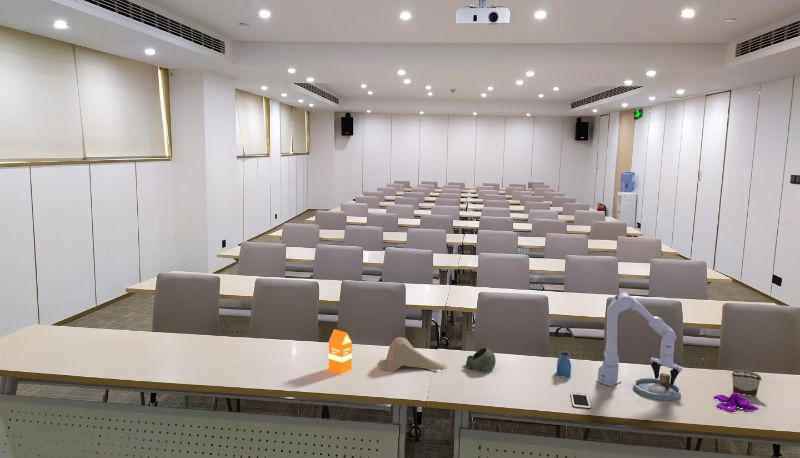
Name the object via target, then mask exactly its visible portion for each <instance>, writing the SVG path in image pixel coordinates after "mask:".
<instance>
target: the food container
mask: <svg viewBox="0 0 800 458" xmlns="http://www.w3.org/2000/svg"><path fill="white" fill-rule="evenodd" d="M730 376H731V378H732V393H739V394H745V395H744V396H746V395H751V396H750V397H753V396H756V397H757V394H758V391H759V386H760V382H762V381H763V380H762V376H761V375H760V374H758V373H755V372H753V371H748V370H744V369H738V370H737V369H736V370H733V371H732V373H731V374H730Z"/></svg>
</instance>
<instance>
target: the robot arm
mask: <svg viewBox="0 0 800 458" xmlns="http://www.w3.org/2000/svg"><path fill="white" fill-rule="evenodd" d="M606 310H607V312H606V315H607V316H606V318H607V319H606V345H605V349H604V351H603V356H604V360H603V361H602V365H601V366H600V367H598V371H597V374H598V375H597V379H595V381H596V382H598V383H601V384H603V385H606V386H609V387H612V386H614V385H617V384H620V383H622V380H620V379H619V378H618V377H619V367H620V364H619V363H620V357H619V355H618V322H619V321H618V317H619V316H618V315H619V314H620V313H622V312H623V311H628V310H630V311H636V312H637V313H639V315H641V316H642V317H643V318H645V320H647V322H648V326H650V328H651V329H653V331H655V332H656V333H657V334H658V335H660V336H661V343H660V350H659V351H660V353H659V358H656V357H651V358H650V361H649V362H650V363H651V364H650V366H651V368H652V371H653V374H654V378H655V379H660V370H661V366H663V367H666V368H670V369H671V370H669V373H670V374H669V375H670V384H675V381H676V379H677V378H678V375H679V374H680V372H682V371H683V366H681V365H678V364H677V363H674V355H675V354H674V353H675V342H676V340H677V339H678V337H677V334H676V332H675V331H674V330H673V328H672V327H671V326H670V325H668V324H666V323H665V321H664V320H663V318H662V317H659V316H654V315H652V314H651V312H650V311H648V310H647V309H646V307H645V306H644V305H643V304H641V303H640V302H639V301H638V300H637V299H635V298H634V297H633V296H631V295H630V294H629V293H627V292H624V291H622V292H620V293H618V294H616V295H615V296H614V298H613V300H612V301H611V302H610V304H609V305H608V306H607V308H606Z"/></svg>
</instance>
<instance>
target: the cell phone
mask: <svg viewBox="0 0 800 458" xmlns="http://www.w3.org/2000/svg"><path fill="white" fill-rule="evenodd" d="M570 399H571V400H572V401H571V406H572V405H573V406H572V408H574V407H578V409H583V408H586V409H587V410H591V409H592V406H591V400H590V397H589V395H588V394H587V393H580V392H579V393H578V392H570Z"/></svg>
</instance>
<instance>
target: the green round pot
mask: <svg viewBox="0 0 800 458" xmlns="http://www.w3.org/2000/svg"><path fill="white" fill-rule="evenodd" d="M496 363H497V361H496V356H495V353H494V352H493V351H492V350H491V349H490V348H487V347H484V348H481V349H479V350H477V351H476V352H475V353H474V354H473V355H468V356H467V357H466V361H465V367H466V368H467V369H468V370H472V369H475V370H478V371H481V372H490V371H492V370H493V369H494V368H495V365H496Z"/></svg>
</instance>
